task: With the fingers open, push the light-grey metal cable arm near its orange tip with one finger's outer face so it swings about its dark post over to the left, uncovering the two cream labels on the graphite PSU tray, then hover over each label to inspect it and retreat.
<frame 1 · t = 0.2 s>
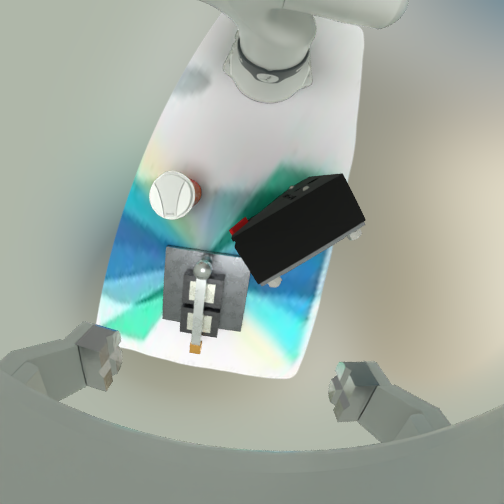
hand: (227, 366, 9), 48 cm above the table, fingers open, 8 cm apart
psu tray: (205, 288, 59), on the table
cable arm: (198, 309, 51), point 8 cm above the table, hinge at 0.0°
electrical component: (283, 216, 56), on the table
paper cup: (188, 192, 54), on the table
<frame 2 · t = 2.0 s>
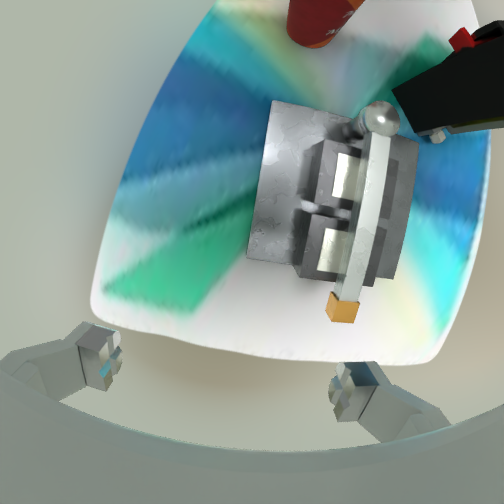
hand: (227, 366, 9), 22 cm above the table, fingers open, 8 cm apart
psu tray: (338, 193, 29), on the table
cable arm: (365, 211, 22), point 8 cm above the table, hinge at 0.0°
electrical component: (441, 95, 26), on the table
paper cup: (308, 31, 24), on the table
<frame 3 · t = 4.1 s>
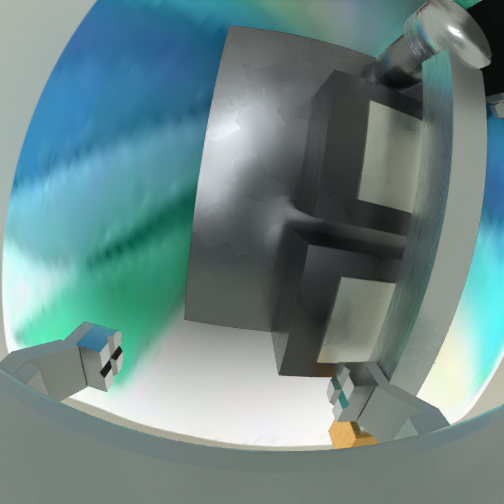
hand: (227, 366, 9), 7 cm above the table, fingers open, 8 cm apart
psu tray: (359, 194, 15), on the table
cable arm: (441, 241, 7), point 8 cm above the table, hinge at 0.0°, touching gripper
electrical component: (491, 55, 12), on the table
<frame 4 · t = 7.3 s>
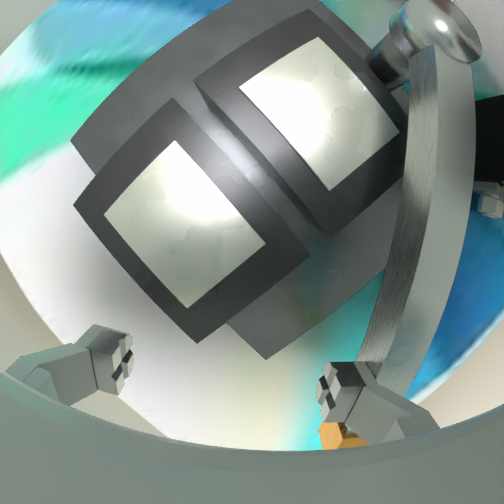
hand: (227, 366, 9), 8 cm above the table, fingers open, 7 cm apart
psu tray: (278, 148, 14), on the table
cable arm: (427, 241, 8), point 8 cm above the table, hinge at 41.4°, touching gripper
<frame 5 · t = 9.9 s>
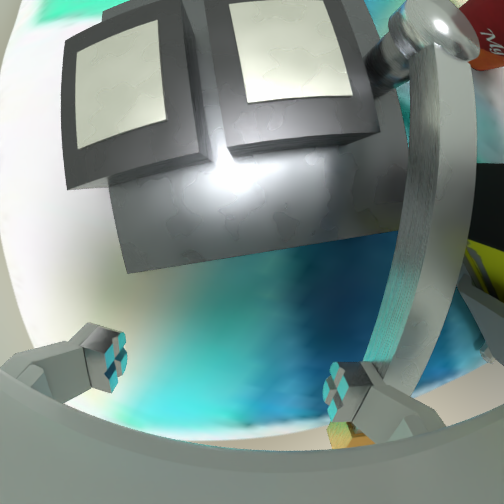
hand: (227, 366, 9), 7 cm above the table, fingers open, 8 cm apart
psu tray: (249, 91, 14), on the table
cable arm: (431, 239, 8), point 8 cm above the table, hinge at 74.0°, touching gripper
electrical component: (484, 268, 17), on the table
paper cup: (466, 44, 12), on the table
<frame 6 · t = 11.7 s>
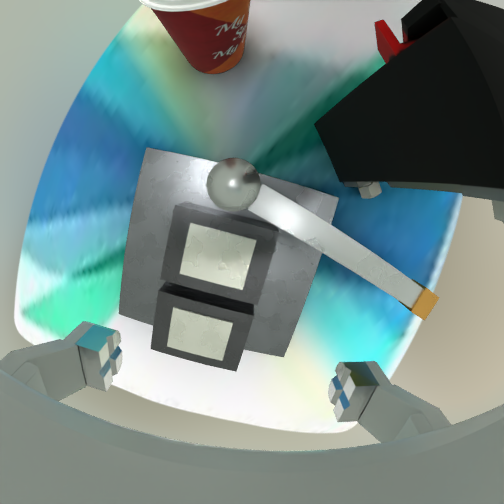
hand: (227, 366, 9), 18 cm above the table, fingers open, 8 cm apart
psu tray: (219, 257, 26), on the table
cable arm: (340, 247, 18), point 8 cm above the table, hinge at 75.7°
electrical component: (396, 128, 24), on the table
paper cup: (215, 51, 21), on the table
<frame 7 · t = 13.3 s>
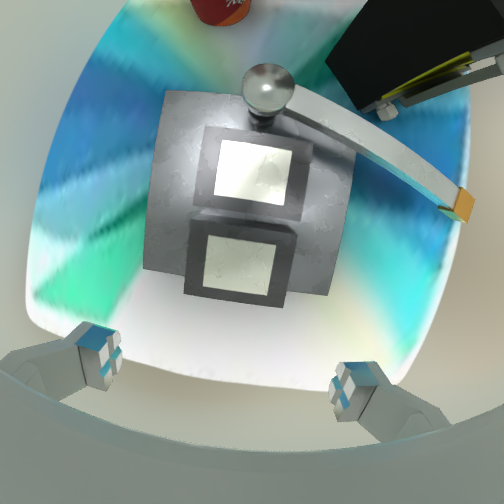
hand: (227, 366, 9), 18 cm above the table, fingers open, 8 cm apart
psu tray: (249, 190, 25), on the table
cable arm: (377, 145, 16), point 8 cm above the table, hinge at 75.7°
electrical component: (399, 64, 21), on the table
paper cup: (223, 9, 20), on the table
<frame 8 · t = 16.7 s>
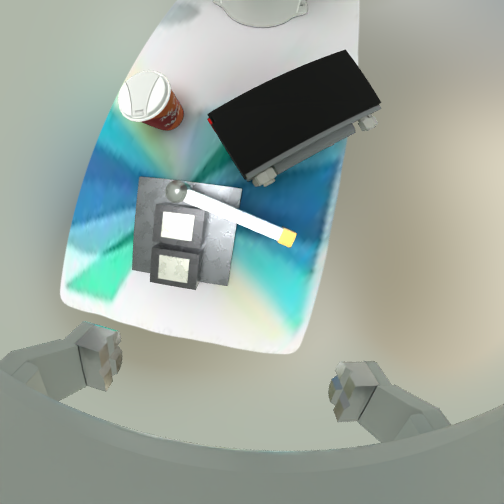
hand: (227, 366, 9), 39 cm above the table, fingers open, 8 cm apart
psu tray: (184, 229, 47), on the table
cable arm: (229, 212, 39), point 8 cm above the table, hinge at 75.7°
electrical component: (279, 140, 44), on the table
paper cup: (168, 115, 42), on the table
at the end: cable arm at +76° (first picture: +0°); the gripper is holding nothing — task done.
